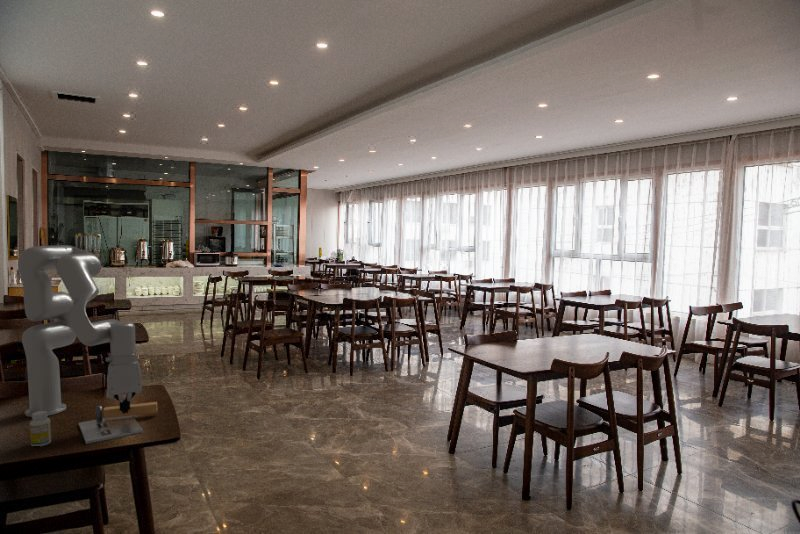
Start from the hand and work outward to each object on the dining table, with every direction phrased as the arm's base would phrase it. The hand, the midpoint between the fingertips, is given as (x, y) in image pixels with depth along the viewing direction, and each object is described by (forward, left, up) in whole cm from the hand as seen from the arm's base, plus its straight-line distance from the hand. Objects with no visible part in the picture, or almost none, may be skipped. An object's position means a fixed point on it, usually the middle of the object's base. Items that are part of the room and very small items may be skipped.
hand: (124, 412), depth 184 cm
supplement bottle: (+5, -24, -4) cm, 25 cm away
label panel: (+4, -5, -4) cm, 7 cm away
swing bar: (-3, +2, -2) cm, 4 cm away
